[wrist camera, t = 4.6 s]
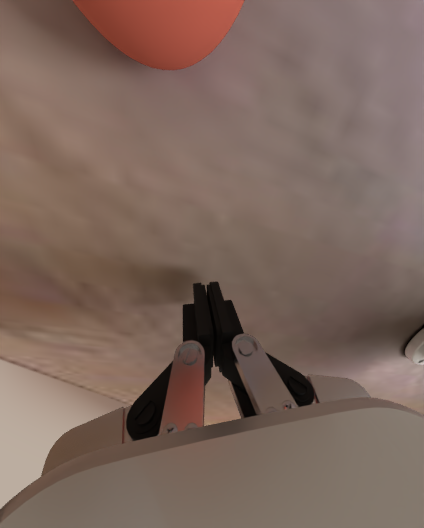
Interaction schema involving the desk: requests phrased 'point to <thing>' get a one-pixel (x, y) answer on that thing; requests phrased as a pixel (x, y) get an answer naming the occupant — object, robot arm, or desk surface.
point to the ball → (162, 28)
